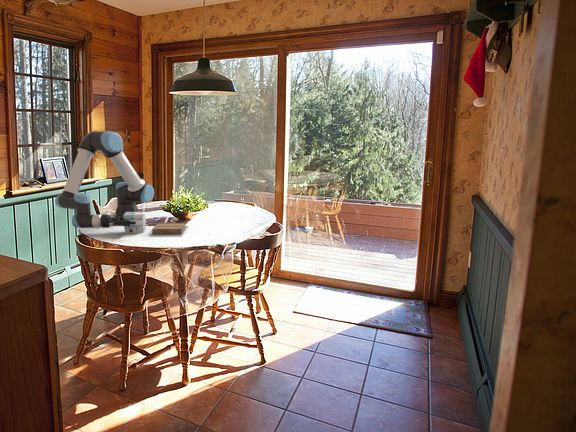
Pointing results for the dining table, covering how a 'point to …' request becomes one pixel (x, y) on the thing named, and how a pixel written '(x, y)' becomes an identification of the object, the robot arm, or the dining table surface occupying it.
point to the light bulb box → (135, 216)
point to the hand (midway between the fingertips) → (143, 220)
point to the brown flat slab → (168, 234)
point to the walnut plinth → (169, 228)
